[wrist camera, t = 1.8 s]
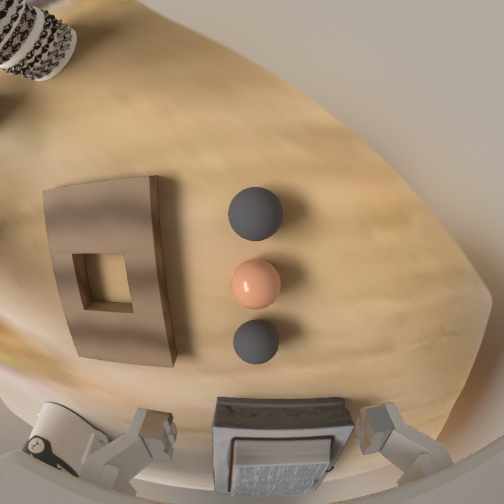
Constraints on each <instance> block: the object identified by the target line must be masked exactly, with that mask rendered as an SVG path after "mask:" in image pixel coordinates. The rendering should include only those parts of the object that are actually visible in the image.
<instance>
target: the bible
mask: <svg viewBox="0 0 504 504" xmlns="http://www.w3.org/2000/svg"><path fill="white" fill-rule="evenodd" d="M344 406H345V401H344V400H343V399H342V398H337V397H331V398H313V399H247V398H228V397H217V404H216V409H215V414H214V418H213V423H212V438H213V439H212V444H213V447H212V450H213V469H214V470H213V477H214V492H215V493H224V494H230V498H239V497H255V496H304V495H305V494H306V493H309V492H314V491H315V490H316V489H317V487H318V486H319V485H320V483H321V482H322V481H323V479H324V478H325V476H326V475H327V473H328V472H329V471H331V470H332V469H333V468H334V467H333V464H334V463H335V462H336V460H337V459H338V457H339V455H340V453H341V451H342V450H343V448H344V446H345V444H346V442H347V440H348V439H349V437H350V435H351V433H352V431H353V429H354V427H355V425H354V424H353V422H352V420H351V416H350V414H349V412H348V410H347V409H346V408H345V407H344Z"/></svg>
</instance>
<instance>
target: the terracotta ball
mask: <svg viewBox="0 0 504 504" xmlns="http://www.w3.org/2000/svg"><path fill="white" fill-rule="evenodd" d="M280 289H281V279H280V276H279V273H278V271H277V270H276V268H275V267H274V266H273V265H271V264H270V263H268V262H266V261H264V260H260V259H252V260H248V261H245V262H243V263H242V264H240V265H239V266H238V267H237V268H236V270H235V271H234V273H233V275H232V278H231V290H232V293H233V296H234V297H235V299H236V300H237V301H238V302H239V303H240V304H241V305H242V306H244V307H246V308H249V309H262V308H265V307H268V306H269V305H271V304H272V303H273V302H274V301H275V300H276V299H277V297H278V295H279V293H280Z"/></svg>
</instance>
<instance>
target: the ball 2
mask: <svg viewBox="0 0 504 504" xmlns="http://www.w3.org/2000/svg"><path fill="white" fill-rule="evenodd" d="M233 343H234V349H235V351H236V353H237V355H238V356H239V357H240V358H241V359H242V360H243V361H245V362H247V363H250V364H262V363H265V362H267V361H269V360H270V359H271V358H272V357H273V356H274V355H275V354H276V352H277V350H278V346H279V338H278V335H277V332H276V331H275V329H274V328H273V327H272V326H271V325H270V324H268V323H267V322H264V321H261V320H251V321H248V322H246V323H244V324H242V325H241V326H240V327H239V328H238V330H237V331H236V333H235V336H234V341H233Z"/></svg>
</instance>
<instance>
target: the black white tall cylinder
mask: <svg viewBox="0 0 504 504" xmlns="http://www.w3.org/2000/svg"><path fill="white" fill-rule="evenodd" d="M67 26H68V24H62V20H59V21H58V20H57V19H56V18H55V16H54V15H50V14H48V11H47V10H45V11H43V10H40V9H38V8H36V7H35V6H33V7H32V6H29V5H28V4H27V3H25V0H0V68H2V70H4V71H5V70H6V72H7V73H9V72H11V73H14V74H15V75H17V74H19V75H20V76H22V77H23V78H29V79H30V80H36V81H40V82H43V81H46V80H49V79H51V78H52V77H54V76H55V75H56V74H58V73H59V72H60V71H61V70H62V69H63V67H64V66H65V65H66V64H67V63H68V61H69V60H70V58H71V56H72V54H73V52H74V50H75V46H76V43H77V36H76V32H75V31H74V30H73V29H72V28H71V27H67Z"/></svg>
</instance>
